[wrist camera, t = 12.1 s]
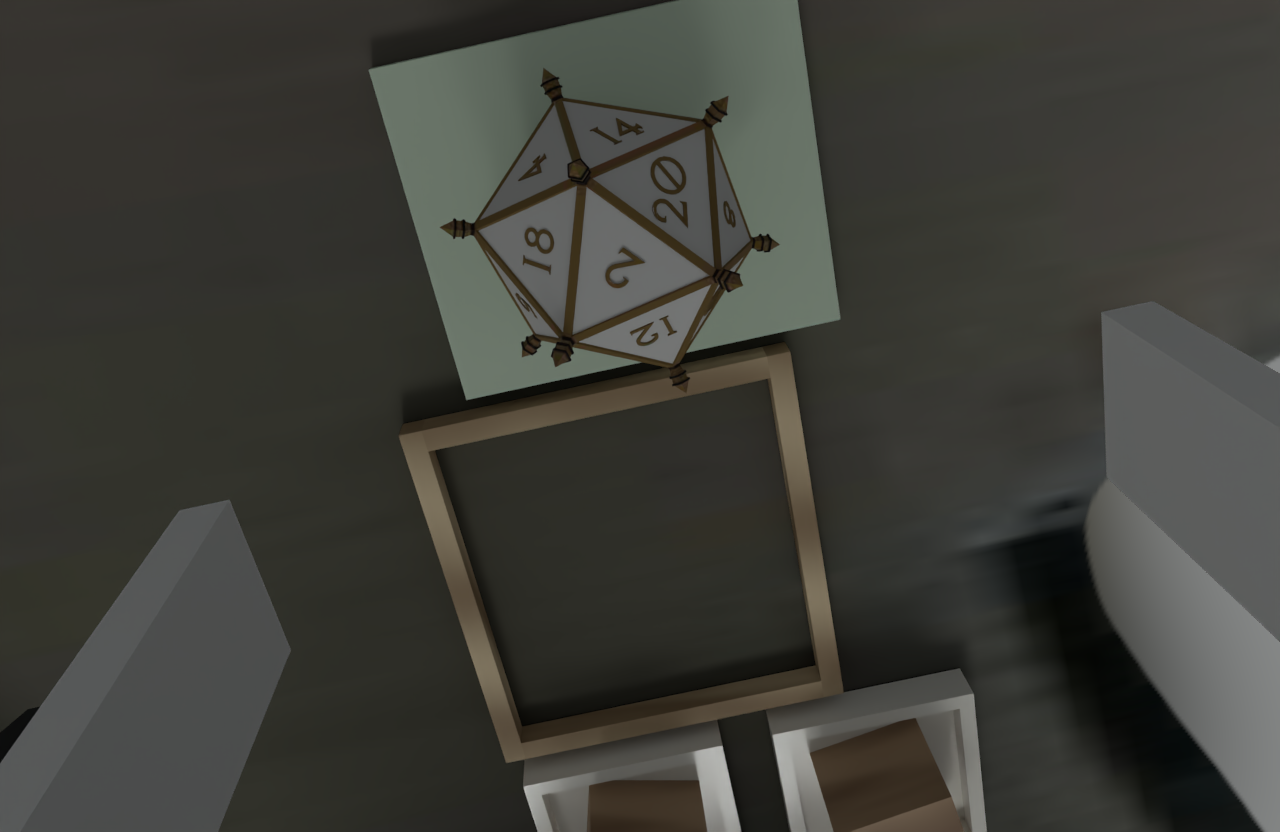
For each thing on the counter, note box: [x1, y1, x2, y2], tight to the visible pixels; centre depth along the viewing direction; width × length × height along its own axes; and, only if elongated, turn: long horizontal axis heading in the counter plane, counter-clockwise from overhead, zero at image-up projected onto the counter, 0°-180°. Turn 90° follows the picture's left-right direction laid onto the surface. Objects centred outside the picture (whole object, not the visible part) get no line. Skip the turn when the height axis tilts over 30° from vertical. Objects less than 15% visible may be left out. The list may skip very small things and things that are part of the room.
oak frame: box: [399, 342, 844, 763], centre depth 39 cm, size 15×14×1 cm
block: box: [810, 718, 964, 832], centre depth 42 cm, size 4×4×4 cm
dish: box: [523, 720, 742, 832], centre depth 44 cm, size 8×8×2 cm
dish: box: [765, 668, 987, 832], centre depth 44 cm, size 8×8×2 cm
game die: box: [440, 68, 780, 394], centre depth 30 cm, size 9×8×10 cm
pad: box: [369, 0, 840, 400], centre depth 34 cm, size 11×13×1 cm
